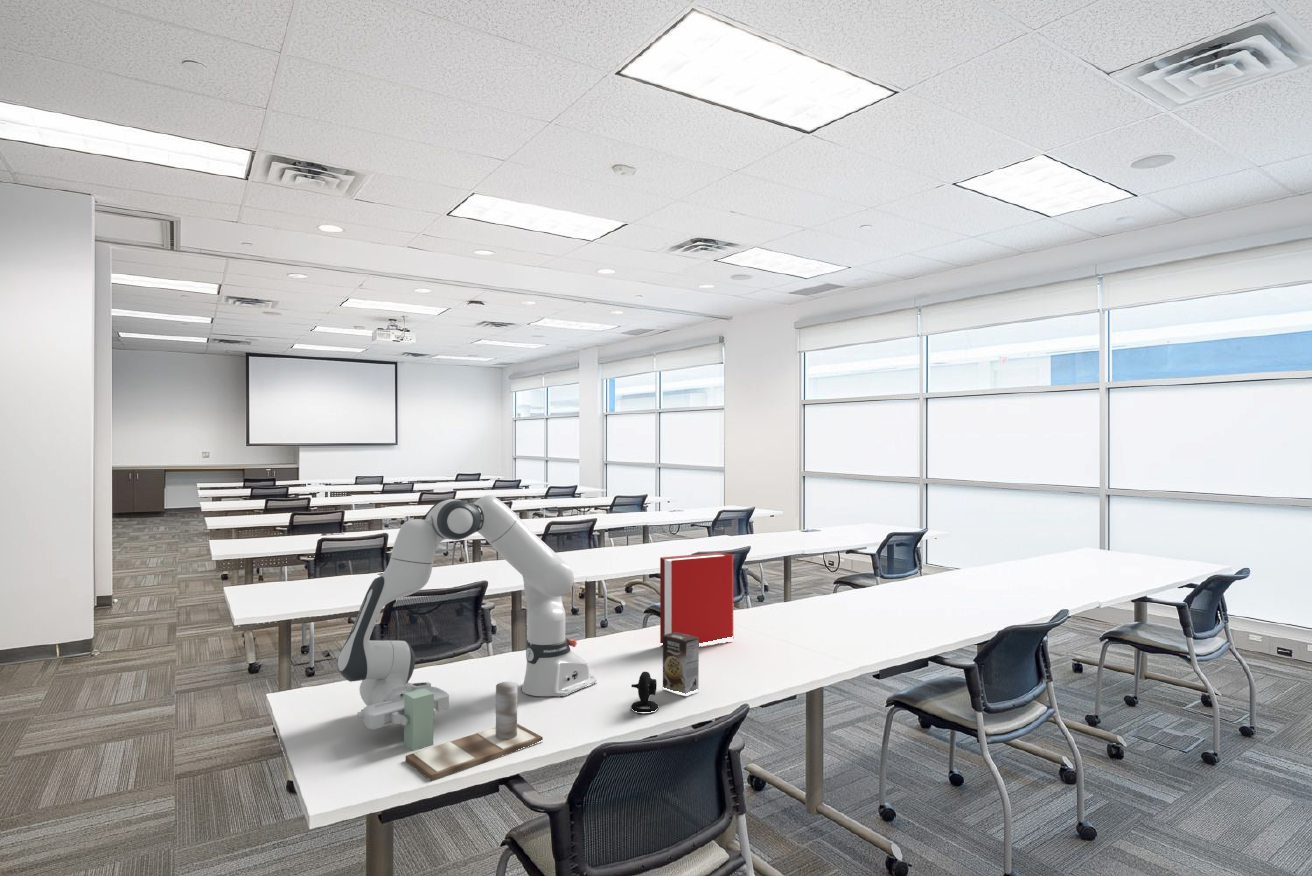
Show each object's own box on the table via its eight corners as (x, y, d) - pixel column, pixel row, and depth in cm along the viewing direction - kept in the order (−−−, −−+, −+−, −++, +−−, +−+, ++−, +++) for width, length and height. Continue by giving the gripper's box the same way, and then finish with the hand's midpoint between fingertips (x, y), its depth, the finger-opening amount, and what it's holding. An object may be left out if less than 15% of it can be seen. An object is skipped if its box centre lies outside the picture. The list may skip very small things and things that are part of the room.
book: (671, 652, 236) (671, 560, 237) (660, 646, 243) (660, 557, 244) (735, 641, 249) (734, 554, 250) (722, 636, 256) (722, 552, 257)
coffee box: (661, 690, 197) (661, 635, 198) (676, 685, 202) (676, 630, 202) (685, 698, 191) (685, 640, 192) (699, 692, 196) (699, 636, 196)
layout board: (513, 726, 171) (513, 673, 171) (542, 742, 162) (542, 685, 162) (405, 761, 152) (406, 701, 152) (431, 781, 142) (431, 717, 143)
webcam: (655, 715, 178) (655, 677, 178) (628, 714, 180) (628, 676, 180) (660, 705, 186) (660, 668, 186) (634, 703, 187) (634, 667, 187)
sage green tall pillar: (424, 738, 164) (424, 688, 164) (433, 744, 161) (433, 693, 161) (403, 744, 161) (404, 693, 161) (412, 750, 157) (413, 698, 157)
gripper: (354, 700, 163) (376, 716, 153) (434, 680, 177) (459, 693, 167) (353, 726, 163) (376, 744, 153) (434, 704, 177) (459, 719, 167)
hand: (420, 717), depth 160 cm, fingers closed on sage green tall pillar, 5 cm apart
